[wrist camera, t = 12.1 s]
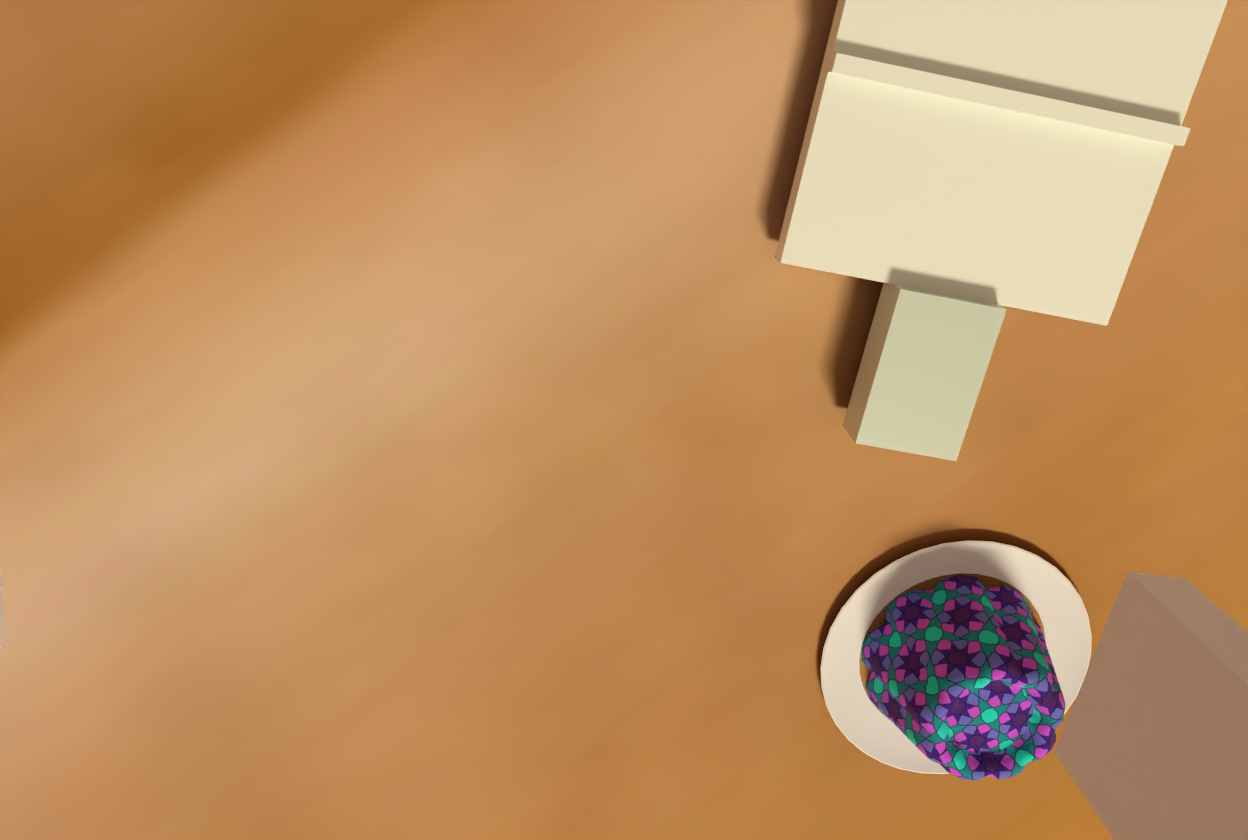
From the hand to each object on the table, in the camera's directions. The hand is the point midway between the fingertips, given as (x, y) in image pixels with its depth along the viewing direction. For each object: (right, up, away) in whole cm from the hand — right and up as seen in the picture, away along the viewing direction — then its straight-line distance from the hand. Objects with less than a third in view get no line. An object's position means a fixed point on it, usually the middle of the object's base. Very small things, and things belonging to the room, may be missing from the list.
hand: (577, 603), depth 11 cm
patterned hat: (+15, -8, +32) cm, 36 cm away
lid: (+14, +14, +23) cm, 31 cm away
